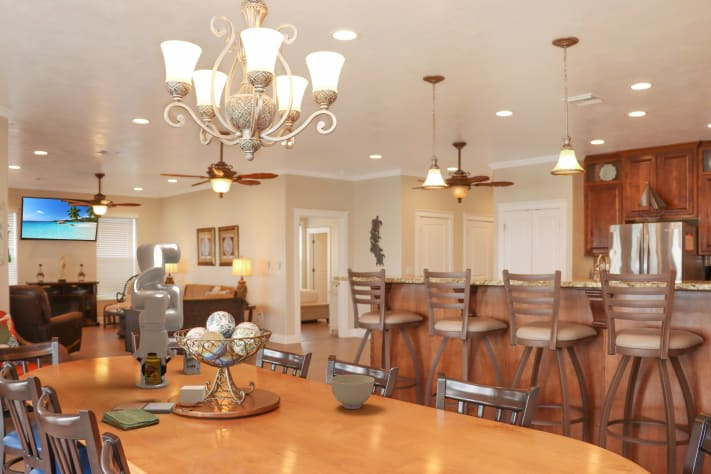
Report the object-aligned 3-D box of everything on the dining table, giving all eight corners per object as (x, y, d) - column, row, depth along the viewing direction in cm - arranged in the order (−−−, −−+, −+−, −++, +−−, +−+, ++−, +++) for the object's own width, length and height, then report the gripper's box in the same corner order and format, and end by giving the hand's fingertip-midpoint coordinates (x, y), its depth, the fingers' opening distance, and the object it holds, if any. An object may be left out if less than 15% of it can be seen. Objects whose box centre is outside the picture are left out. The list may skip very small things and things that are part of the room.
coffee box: (200, 373, 287) (201, 338, 288) (186, 375, 285) (186, 338, 285) (196, 370, 296) (197, 335, 296) (182, 371, 293) (183, 336, 293)
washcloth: (124, 433, 199) (125, 422, 199) (99, 421, 211) (99, 412, 211) (163, 424, 209) (163, 414, 209) (136, 414, 221) (136, 405, 221)
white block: (183, 401, 237) (184, 385, 237) (205, 401, 237) (205, 385, 237) (180, 406, 231) (180, 389, 231) (202, 406, 231) (202, 389, 231)
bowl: (369, 413, 222) (370, 385, 222) (325, 411, 226) (325, 382, 226) (377, 402, 238) (377, 375, 238) (335, 400, 241) (335, 373, 241)
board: (121, 406, 230) (121, 402, 230) (177, 406, 231) (177, 402, 231) (111, 413, 220) (111, 409, 220) (170, 413, 221) (170, 409, 221)
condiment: (143, 386, 233) (143, 353, 232) (143, 380, 241) (144, 348, 240) (164, 385, 235) (164, 353, 234) (163, 379, 243) (164, 348, 242)
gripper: (127, 328, 233) (127, 377, 234) (175, 329, 233) (175, 378, 234) (134, 324, 240) (133, 372, 241) (180, 325, 241) (179, 372, 242)
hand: (154, 374), depth 238 cm, fingers closed on condiment, 6 cm apart
